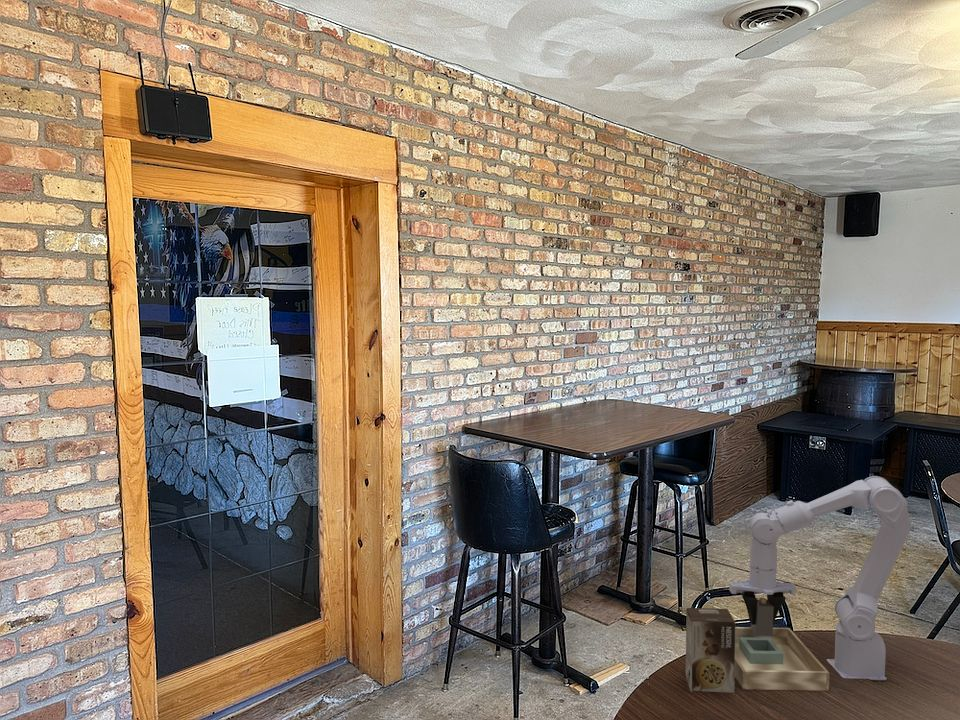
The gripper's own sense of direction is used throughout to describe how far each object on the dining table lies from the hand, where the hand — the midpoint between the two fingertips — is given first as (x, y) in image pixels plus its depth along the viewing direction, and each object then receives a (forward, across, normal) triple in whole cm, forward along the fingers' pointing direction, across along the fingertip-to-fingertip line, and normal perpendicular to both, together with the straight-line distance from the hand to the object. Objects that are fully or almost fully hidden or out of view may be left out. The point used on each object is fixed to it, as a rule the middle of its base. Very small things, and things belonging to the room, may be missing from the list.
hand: (761, 622), depth 155 cm
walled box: (+8, 0, -4) cm, 9 cm away
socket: (+8, 0, 0) cm, 8 cm away
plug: (+2, 0, 0) cm, 2 cm away
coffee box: (+9, -16, -12) cm, 21 cm away
